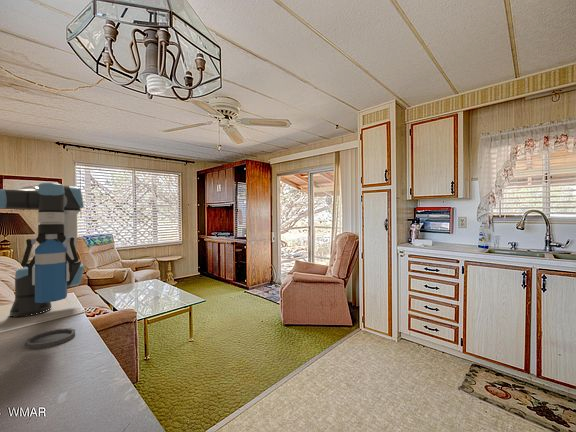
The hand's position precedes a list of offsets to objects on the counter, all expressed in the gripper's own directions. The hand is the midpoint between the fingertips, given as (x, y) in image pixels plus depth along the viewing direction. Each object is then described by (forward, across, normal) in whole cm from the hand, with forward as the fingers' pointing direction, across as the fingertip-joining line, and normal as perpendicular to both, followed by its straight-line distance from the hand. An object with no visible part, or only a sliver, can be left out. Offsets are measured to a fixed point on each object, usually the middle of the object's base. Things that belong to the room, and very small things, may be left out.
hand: (51, 282), depth 101 cm
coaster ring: (+22, 0, 0) cm, 22 cm away
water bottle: (+7, 0, 0) cm, 7 cm away
